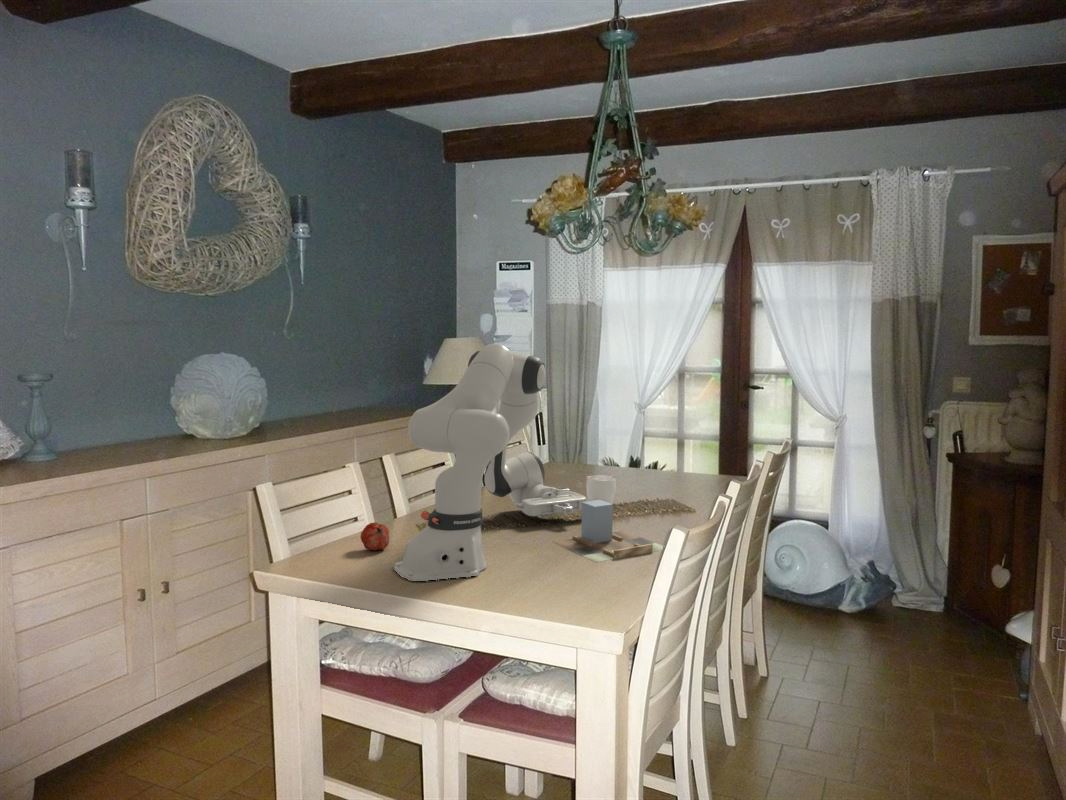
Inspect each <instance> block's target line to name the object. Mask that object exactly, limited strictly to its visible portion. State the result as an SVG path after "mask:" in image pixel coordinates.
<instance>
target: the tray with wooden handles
mask: <svg viewBox="0 0 1066 800" xmlns="http://www.w3.org/2000/svg"><path fill="white" fill-rule="evenodd" d="M553 543H554V544H556V545H559V546H560V547H562V548H565V550H566V549H567V550H569V551H571V552H573V553H575V554H577V555H579V556H581V557H583V558H585V559H588V560H590V561H591V562H594V563H599V562H605V561H610V560H617V559H621V558H628V557H634V556H639V555H643V554H644V555H645V554H649V553H655V552H661V551H663V550H662V549H663V546H664V545H662V544H659V543H657V542H654V541H652V540H649V539H646V538H644V537H641V536H640V535H637V534H634V533H631V532H629V531H626V530H619V531H612V541H606V542H599V543H592V542H590V541H587V540H585V539H583V538H581V536H577V535H572V538H568V539H563V540H562V539H561V540H555V541H553Z"/></svg>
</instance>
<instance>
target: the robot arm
mask: <svg viewBox="0 0 1066 800" xmlns="http://www.w3.org/2000/svg"><path fill="white" fill-rule="evenodd" d="M463 373H464V374H463V375H462V377H461V378H460V380H459V381H458V383H456V385H455V387H453V389H452V390H451V391H449V392H448V393H447V394H446V395H444V396H443V397H442V398H440V399H439V400H437V401H435V402H434V403H431V404H430V405H427V406H424V407H422V408H418V409H417V410H416V411H415V412H414V413H413V414H412V416H411V417H410V418H409V422H408V427H407V429H408V431H407V432H408V436H409V439H410V441H411V443H412V444H413V445H414V446H415V447H417V448H421V449H423V450H426V451H429V452H435V453H445V454H447V453H448V454H455V460H454V464H453V466H450V467H448V468H446V469H445V470H443V471H442V472H440V473H439V474H438V476H437V477H436V479H435V482H434V497H435V498H434V509H433V511H431V513H430V512H429V511H427V510H422V511H421V513H420V518H421V519H423V520H424V521H427V526H425V528H423V529H422V530H421V531H419V533H418V534H416V535H415V536H414V537H412V538H411V539H410V540H409V541H408V542H407V543H406V544H405V547H404V552H403V557H402V560H401V561H397V562H395V563H394V565H393V571H394V570H395V571H396V572H397V573H398V574H399V575H401V576H403V577H404V578H406V579H410V580H414V581H426V582H429V581H428V580H436V581H440V580H439V579H446V580H451V579H450V578H456V579H460V578H459V577H466V578H472V577H471V576H475V577H477V576H478V575H479V574H480V572H482V571H483V570H485V569H486V568H487V566H488V564H487V561H486V557H485V553H484V547H483V540H482V538H483V537H482V530H483V509H482V507H481V498H482V497H481V495H482V483H483V482H484V485H485V489H487V491H488V493H490V494H491V495H493V496H495V497H500V498H504V497H506V496H509V497H510V499H511V501H512V502H513V503H514V504H515V505H516V508H518V509H521V511H522V513H523V514H525V515H526V516H527V517H528V516H529V517H538V516H541V517H549V516H550V515H554V514H563V515H567V514H573V513H574V512H576V511H582V502H587V501H588V498H587V497H586V496H585V495H583V494H581V493H578V492H575V491H571V489H570V488H568V487H553V486H549V485H548V486H547V485H544V484H545V479H546V476H545V475H546V473H545V472H546V471H545V467H544V463H543V461H542V460H541V459H540V458H539V456H537V455H536V454H534V453H533V452H530V451H525V452H522V453H520V454H516V455H514V456H513V457H510V458H507V449H508V445H509V443H510V441H511V440H512V439H513V438H514V437H515V436H516V435H517V434H518V433H519V432H520V431H522V430H523V429H524V428H525V427H527V426H528V425H530V424H531V423H532V422H533V420H534V419H535V418H536V417H537V414H538V410H539V391H541V390H542V389H543V387H544V384H545V382H546V377H547V376H546V375H547V374H546V373H547V372H546V365H545V363H544V362H543V360H542V359H541V358H539V357H537V356H533V355H526V354H521V353H516V352H511V350H510V349H509V348H508V347H507V346H505V345H503V344H499V343H489V344H487V345H485V346H484V347H483V348H482V349H480V350H477V351H475V352H474V353H473V354H472V355H471V356H470V358H469V360H468V363H467V369H466V370H465V372H463ZM499 402H500V403H499ZM498 403H499V408H498V411H497V412H493V411H494V410H495V409H496V407H497V405H498ZM506 458H507V459H506ZM395 571H394V572H395ZM396 572H395V573H396ZM398 574H397V575H398ZM399 575H398V576H399ZM404 578H403V579H404ZM448 578H449V579H448ZM406 579H405V580H406ZM437 579H438V580H437Z"/></svg>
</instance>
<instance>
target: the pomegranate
mask: <svg viewBox="0 0 1066 800" xmlns="http://www.w3.org/2000/svg"><path fill="white" fill-rule="evenodd" d="M389 533H390V531H389V528H388V526H387V525H385V524H380V523H378V522H370V523H369V524H367V525H365V527H364V528H363V529H362V531H361V533H360V541H361V543H363V546H364V548H365V549H367V550H368V551H371V550H374V551H379V550H381V549H382V550H385V549H386V548H387V547H388V546H389V543H390V534H389Z"/></svg>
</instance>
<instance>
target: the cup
mask: <svg viewBox="0 0 1066 800" xmlns="http://www.w3.org/2000/svg"><path fill="white" fill-rule="evenodd" d="M585 487H586V488H585V489H586V496H587V497H586V498H587V501H595V500H602V501H605V502H608V503H610V504H613V505H614V498H615V494H616V493H615V492H616V478H615V477H614V476H612V475H605V474H604V475H603V474H593V475H588V476H586V486H585Z"/></svg>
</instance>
